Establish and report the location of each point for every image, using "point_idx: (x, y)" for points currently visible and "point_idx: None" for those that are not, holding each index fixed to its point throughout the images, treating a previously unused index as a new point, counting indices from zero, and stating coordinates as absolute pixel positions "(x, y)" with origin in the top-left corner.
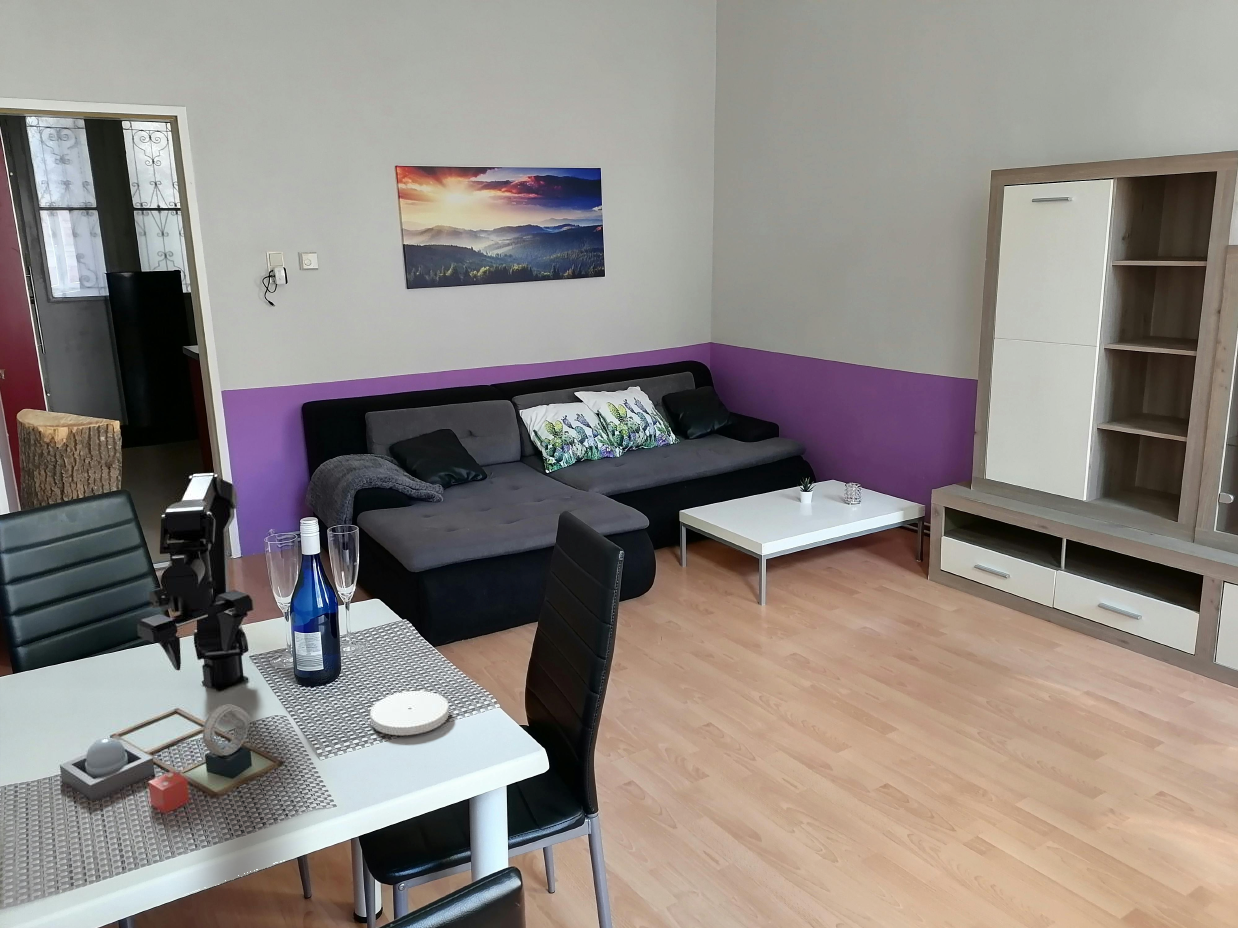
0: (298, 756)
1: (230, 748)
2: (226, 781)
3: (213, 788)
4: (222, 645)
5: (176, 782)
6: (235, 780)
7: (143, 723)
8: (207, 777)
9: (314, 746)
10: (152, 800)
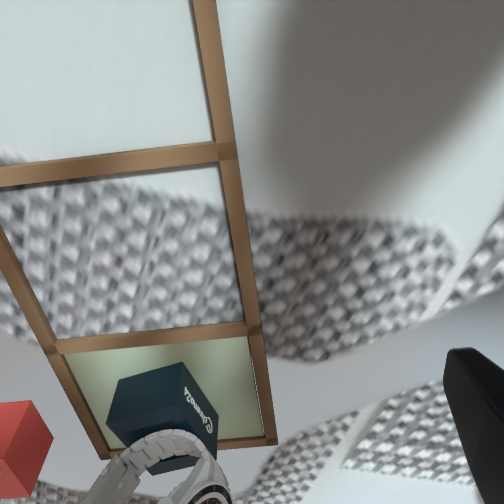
0: (319, 436)
1: (172, 445)
2: None
3: (110, 435)
4: (474, 389)
5: (3, 496)
6: None
7: None
8: (112, 398)
9: (371, 427)
10: None
